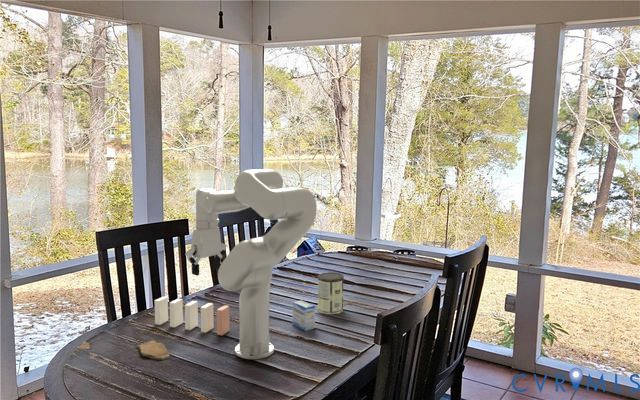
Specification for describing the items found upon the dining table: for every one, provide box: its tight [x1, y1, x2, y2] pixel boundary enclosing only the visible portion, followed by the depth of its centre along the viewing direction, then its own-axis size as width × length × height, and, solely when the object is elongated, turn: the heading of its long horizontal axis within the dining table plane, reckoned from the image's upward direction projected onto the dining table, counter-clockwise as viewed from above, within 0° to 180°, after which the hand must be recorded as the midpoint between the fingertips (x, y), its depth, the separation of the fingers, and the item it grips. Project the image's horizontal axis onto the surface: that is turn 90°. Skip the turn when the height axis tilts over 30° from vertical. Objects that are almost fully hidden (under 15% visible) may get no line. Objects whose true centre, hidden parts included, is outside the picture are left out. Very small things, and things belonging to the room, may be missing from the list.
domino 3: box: [200, 302, 215, 334], centre depth 182 cm, size 2×5×9 cm, turn 160°
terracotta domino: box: [216, 304, 230, 336], centre depth 180 cm, size 2×5×9 cm, turn 160°
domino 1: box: [169, 298, 184, 328], centre depth 186 cm, size 2×5×9 cm, turn 160°
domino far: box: [154, 296, 169, 326], centre depth 188 cm, size 2×5×9 cm, turn 160°
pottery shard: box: [135, 340, 171, 361], centre depth 164 cm, size 8×3×15 cm
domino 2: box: [184, 300, 199, 331], centre depth 184 cm, size 2×5×9 cm, turn 160°
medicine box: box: [291, 300, 316, 332], centre depth 186 cm, size 8×4×9 cm, turn 40°
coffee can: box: [317, 272, 345, 315], centre depth 203 cm, size 10×10×14 cm
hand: (206, 271), depth 180 cm, fingers open, 9 cm apart
